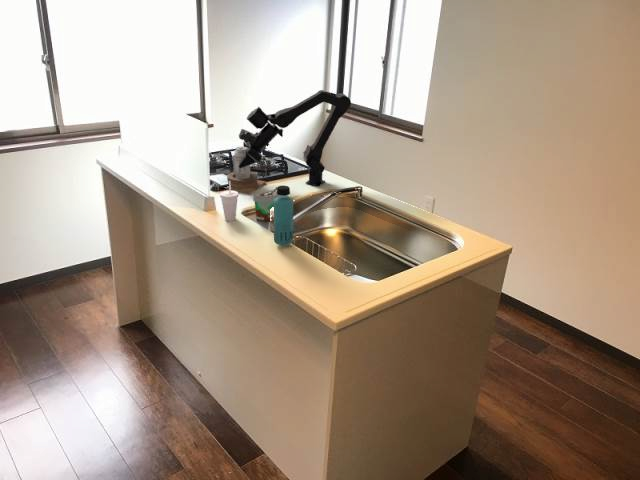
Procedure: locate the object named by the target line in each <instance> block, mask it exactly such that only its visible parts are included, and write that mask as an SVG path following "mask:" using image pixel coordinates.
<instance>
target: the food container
mask: <svg viewBox="0 0 640 480" xmlns="http://www.w3.org/2000/svg"><path fill="white" fill-rule="evenodd" d="M277 187H278V186H275V189H273V190H272V189H271V190H270V191H264V192H263V193H262V194H259V195H256V194H254V195H253V200H252V201H253V202H254V206H255V207H254V210H255V217H256V221H258V222H262V223H269V222H270V209H271V208H272V207H274V202H273V201H274V199H275V198H276V197H277V196H280V195H278V194H277Z"/></svg>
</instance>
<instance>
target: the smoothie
mask: <svg viewBox="0 0 640 480" xmlns="http://www.w3.org/2000/svg"><path fill="white" fill-rule="evenodd" d="M219 197H220V199H221V205H222V209H223V215H224V220H225V221H228V222H230V221H231V222H232V221H235V220H237V219H236V218H237V206H238V197H239V192H236V191H233V190H231V185H230V181H229V190H224V191H223V190H222V191H221V192H220V193H219Z"/></svg>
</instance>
